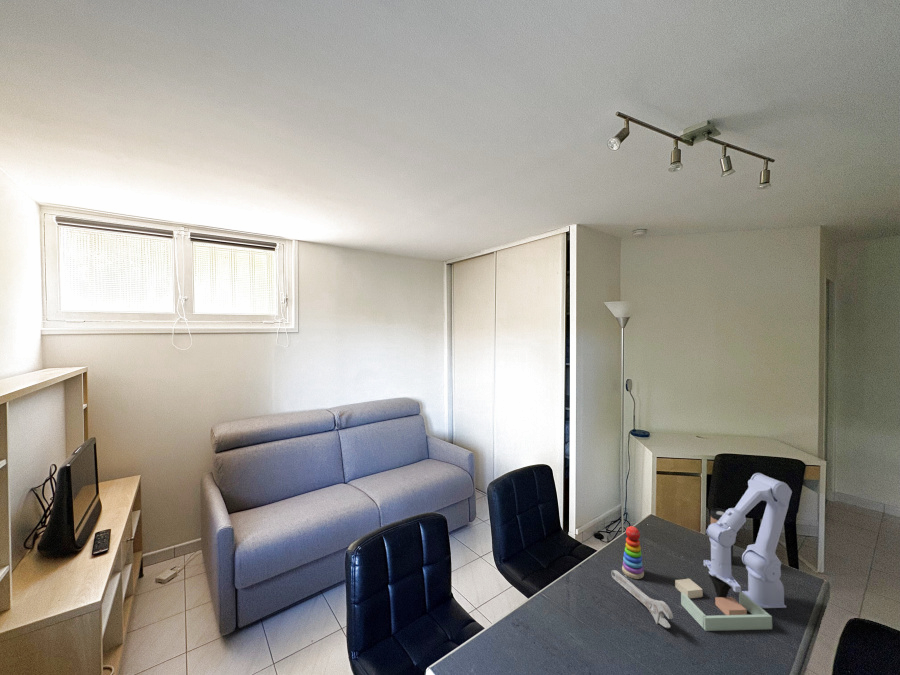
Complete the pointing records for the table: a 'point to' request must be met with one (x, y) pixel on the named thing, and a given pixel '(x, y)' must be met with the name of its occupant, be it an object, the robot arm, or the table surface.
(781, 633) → the table surface
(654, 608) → the wrench
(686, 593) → the sand tile
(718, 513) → the travel mug
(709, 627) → the box
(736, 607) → the terracotta tile
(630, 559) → the stacking toy
